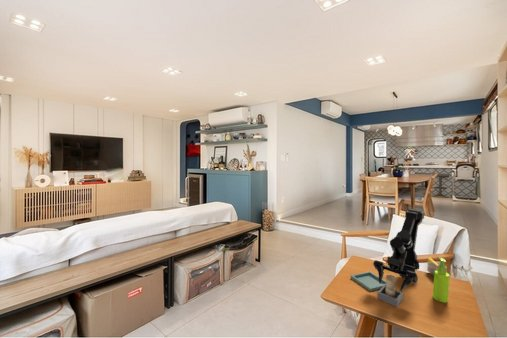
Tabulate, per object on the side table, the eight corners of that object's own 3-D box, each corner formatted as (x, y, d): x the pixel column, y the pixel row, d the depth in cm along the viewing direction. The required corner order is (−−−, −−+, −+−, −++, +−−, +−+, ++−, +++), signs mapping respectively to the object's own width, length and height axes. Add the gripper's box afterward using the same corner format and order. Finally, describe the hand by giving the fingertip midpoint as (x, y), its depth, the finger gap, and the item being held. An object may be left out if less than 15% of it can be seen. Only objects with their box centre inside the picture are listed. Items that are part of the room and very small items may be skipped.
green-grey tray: (369, 274, 140) (369, 271, 140) (390, 287, 127) (390, 283, 127) (350, 279, 135) (350, 275, 135) (370, 292, 122) (370, 288, 122)
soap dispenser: (443, 295, 120) (446, 257, 119) (450, 303, 114) (452, 263, 113) (430, 293, 122) (432, 255, 121) (435, 301, 116) (438, 261, 114)
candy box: (426, 270, 146) (427, 257, 145) (430, 271, 146) (431, 257, 145) (441, 285, 130) (442, 270, 130) (445, 285, 130) (446, 270, 129)
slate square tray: (383, 293, 122) (383, 285, 122) (402, 300, 116) (403, 292, 116) (377, 300, 116) (377, 292, 116) (397, 308, 110) (397, 300, 110)
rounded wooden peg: (389, 295, 119) (390, 274, 118) (396, 300, 115) (397, 278, 114) (383, 297, 117) (384, 275, 116) (390, 302, 114) (391, 279, 113)
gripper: (375, 244, 124) (365, 272, 117) (417, 256, 111) (409, 288, 104) (380, 255, 130) (371, 282, 123) (421, 267, 117) (413, 298, 110)
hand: (389, 287), depth 115 cm, fingers open, 9 cm apart
